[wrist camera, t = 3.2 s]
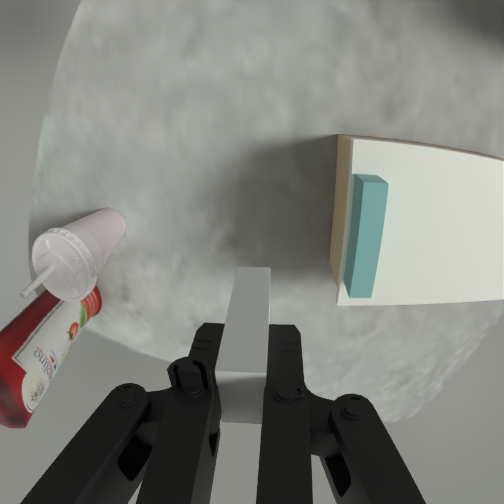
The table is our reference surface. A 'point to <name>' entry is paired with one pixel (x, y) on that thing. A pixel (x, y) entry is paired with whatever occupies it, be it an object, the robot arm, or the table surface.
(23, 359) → the liquor
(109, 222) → the smoothie
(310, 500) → the robot arm
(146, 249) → the table surface
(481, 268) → the lid
